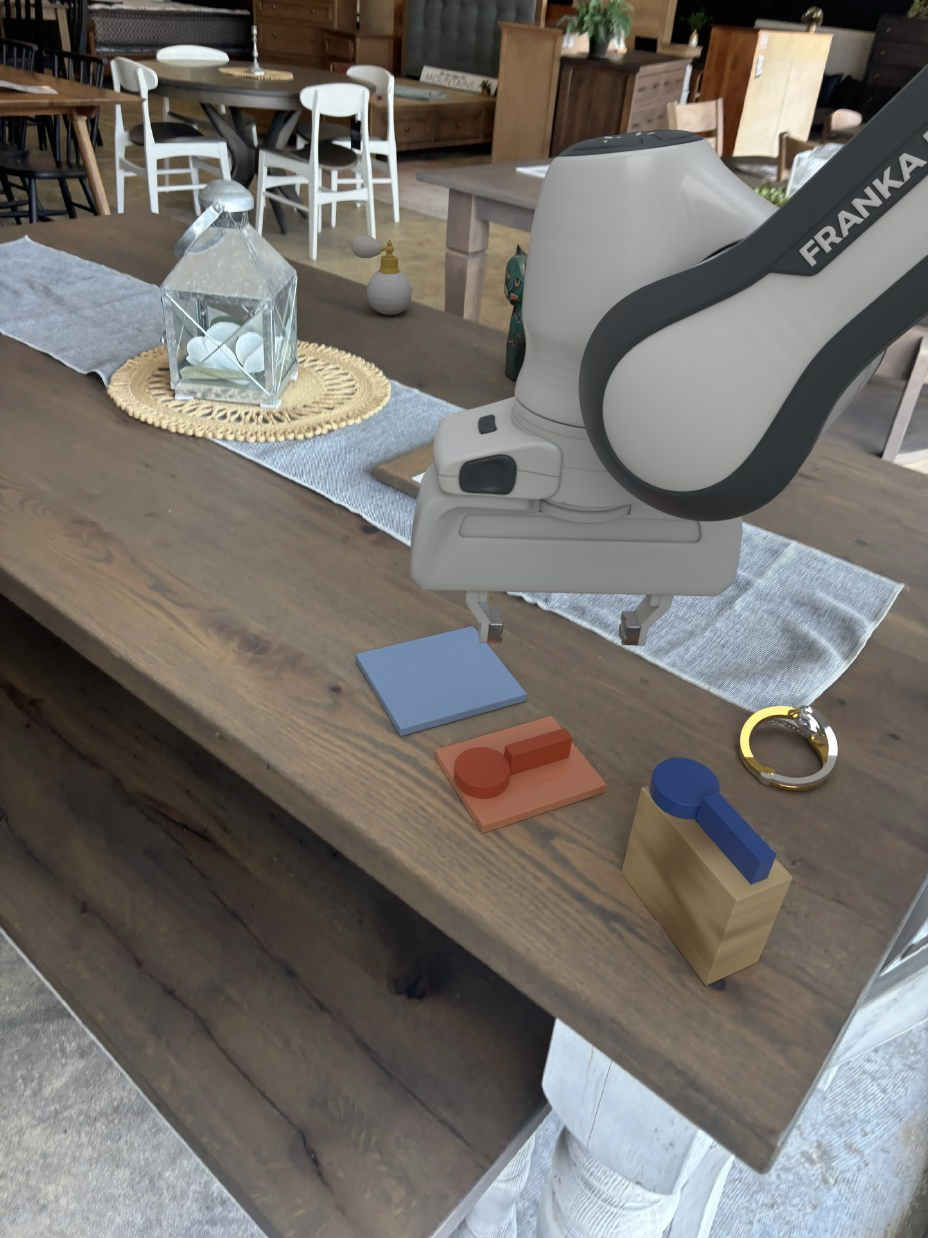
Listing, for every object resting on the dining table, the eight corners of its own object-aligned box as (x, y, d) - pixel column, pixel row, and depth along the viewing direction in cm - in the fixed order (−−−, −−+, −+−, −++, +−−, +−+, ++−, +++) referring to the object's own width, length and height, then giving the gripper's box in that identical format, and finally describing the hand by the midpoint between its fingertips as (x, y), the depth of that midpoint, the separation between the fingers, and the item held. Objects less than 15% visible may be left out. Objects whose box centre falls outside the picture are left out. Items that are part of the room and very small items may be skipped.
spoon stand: (758, 962, 55) (793, 877, 50) (705, 986, 53) (736, 901, 49) (670, 853, 61) (693, 769, 57) (620, 872, 60) (640, 787, 55)
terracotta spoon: (552, 735, 69) (555, 715, 68) (579, 770, 66) (583, 750, 65) (444, 767, 66) (445, 747, 64) (468, 805, 63) (470, 785, 62)
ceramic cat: (493, 370, 134) (503, 226, 122) (533, 367, 135) (547, 224, 124) (547, 424, 119) (565, 265, 107) (592, 420, 120) (614, 263, 109)
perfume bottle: (414, 319, 151) (416, 243, 144) (356, 320, 149) (355, 243, 142) (407, 305, 157) (408, 232, 150) (351, 306, 155) (349, 231, 148)
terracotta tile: (605, 792, 66) (607, 784, 65) (482, 834, 62) (482, 826, 61) (550, 723, 71) (551, 715, 71) (434, 757, 68) (434, 749, 67)
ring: (805, 817, 66) (850, 749, 70) (813, 790, 64) (859, 722, 68) (718, 771, 70) (767, 709, 74) (723, 744, 68) (773, 682, 72)
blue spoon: (787, 870, 50) (796, 846, 49) (730, 893, 49) (739, 869, 48) (688, 763, 57) (695, 740, 56) (636, 781, 55) (641, 758, 54)
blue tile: (526, 701, 73) (527, 693, 73) (400, 736, 69) (400, 729, 69) (472, 632, 81) (473, 625, 80) (355, 661, 76) (355, 653, 76)
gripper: (748, 429, 55) (703, 614, 63) (412, 418, 54) (409, 608, 62) (781, 476, 50) (727, 671, 58) (410, 465, 49) (407, 666, 57)
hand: (560, 639), depth 60 cm, fingers open, 8 cm apart
